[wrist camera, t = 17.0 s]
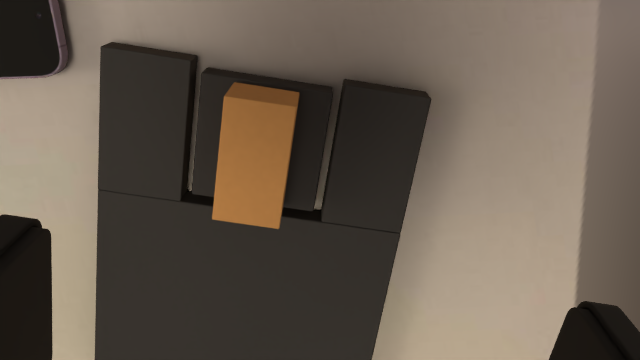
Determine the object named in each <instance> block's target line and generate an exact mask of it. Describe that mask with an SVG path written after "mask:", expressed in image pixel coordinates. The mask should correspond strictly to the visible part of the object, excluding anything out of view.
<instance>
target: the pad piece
mask: <svg viewBox="0 0 640 360" xmlns="http://www.w3.org/2000/svg"><path fill="white" fill-rule="evenodd" d="M332 96H333V92H332V87H329V86H322V85H316V84H309V83H303V82H297V81H290V80H284V79H278V78H271V77H265V76H259V75H252V74H246V73H239V72H233V71H227V70H220V69H214V68H207V69H206V70H205V71H204V72H203V73H202V74H201V86H200V98H199V110H198V122H197V134H196V146H195V158H194V170H193V183H192V194H197V195H203V196H210V197H214V203H213V213H212V219H213V220H220V221H226V222H233V223H240V224H247V225H254V226H261V227H268V228H275V229H279V227H280V221H281V215H282V210H283V207H286V208H292V209H299V210H306V211H313V210H314V204H315V198H316V192H317V186H318V180H319V174H320V168H321V162H322V156H323V150H324V144H325V138H326V132H327V126H328V120H329V114H330V108H331V102H332Z"/></svg>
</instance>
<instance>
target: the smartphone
mask: <svg viewBox="0 0 640 360" xmlns="http://www.w3.org/2000/svg"><path fill="white" fill-rule="evenodd" d="M67 61H68V51H67V45H66V39H65V34H64V29H63V24H62V19H61V14H60V8H59V3H58V0H0V79H14V78H42V77H48V76H51V75H54V74H56V73H59V72H60V71H62V70H63V69H64V68H65V66H66V64H67Z"/></svg>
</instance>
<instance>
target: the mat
mask: <svg viewBox="0 0 640 360" xmlns="http://www.w3.org/2000/svg"><path fill="white" fill-rule="evenodd" d="M196 68H197V56H196V55H190V54H183V53H177V52H171V51H164V50H158V49H152V48H145V47H139V46H133V45H126V44H120V43H114V42H111V43H109V44H106V45H103V46H101V62H100V113H99V165H98V189H99V190H98V224H97V276H96V327H95V360H372V355H373V351H374V346H375V342H376V338H377V333H378V329H379V325H380V320H381V316H382V312H383V307H384V303H385V299H386V294H387V290H388V285H389V281H390V277H391V272H392V268H393V264H394V259H395V255H396V251H397V246H398V242H399V238H400V232H401V229H402V224H403V220H404V216H405V211H406V207H407V203H408V198H409V194H410V190H411V185H412V181H413V177H414V172H415V168H416V163H417V159H418V155H419V150H420V146H421V142H422V137H423V133H424V129H425V124H426V120H427V116H428V111H429V107H430V102H431V98H430V97H429V95H428V94H427V93H426V92H423V91H417V90H411V89H404V88H398V87H392V86H385V85H379V84H373V83H366V82H360V81H354V80H347V79H344V81H343V86H342V92H341V98H340V103H339V109H338V115H337V121H336V127H335V132H334V138H333V144H332V150H331V156H330V162H329V167H328V173H327V179H326V185H325V191H324V196H323V202H322V208H321V211H316V210H313V211H306V210H299V209H292V208H286V207H283V210H282V215H281V221H280V227H279V229H275V228H268V227H261V226H254V225H247V224H240V223H233V222H226V221H220V220H213V219H212V213H213V203H214V197H210V196H203V195H197V194H192V192H186V191H187V181H188V169H189V156H190V143H191V131H192V118H193V106H194V93H195V80H196Z"/></svg>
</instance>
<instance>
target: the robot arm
mask: <svg viewBox="0 0 640 360" xmlns="http://www.w3.org/2000/svg"><path fill="white" fill-rule="evenodd" d="M0 360H52V267H51V233H50V231H49V230H48V229H43V228H42V225H41V223H40V221H39V220H38V219H32V218H25V217H19V216H12V215H1V216H0ZM549 360H640V332H639V331H638V330H637V328H636V327H635V326H634V325H633V324H632V322H631V321H630V320H629V319H628V317H627V316H626V315H625V314H624V312H623V311H622V310H621V309H620V308H619V307H617V306H614V305H608V304H601V303H595V302H587V301H584V302H581V303H580V304H579V305H578V307H577V308H575V307H574V308H571V309H570V310H569V311H568V313H567V315H566V317H565V320H564V322H563V325H562V328H561V330H560V333H559V335H558V338H557V340H556V343H555V345H554V348H553V350H552V353H551V355H550V358H549Z"/></svg>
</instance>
